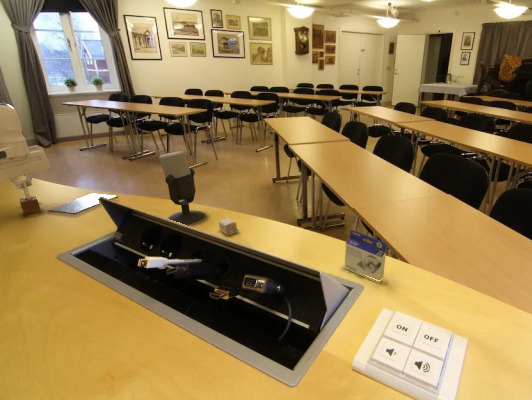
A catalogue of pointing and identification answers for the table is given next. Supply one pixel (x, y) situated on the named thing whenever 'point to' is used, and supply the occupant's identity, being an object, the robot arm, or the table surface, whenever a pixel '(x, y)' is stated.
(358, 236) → the ink box
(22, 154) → the robot arm
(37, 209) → the holder
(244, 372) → the table surface
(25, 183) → the stylus
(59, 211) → the tablet
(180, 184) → the microphone
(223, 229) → the usb wall charger
